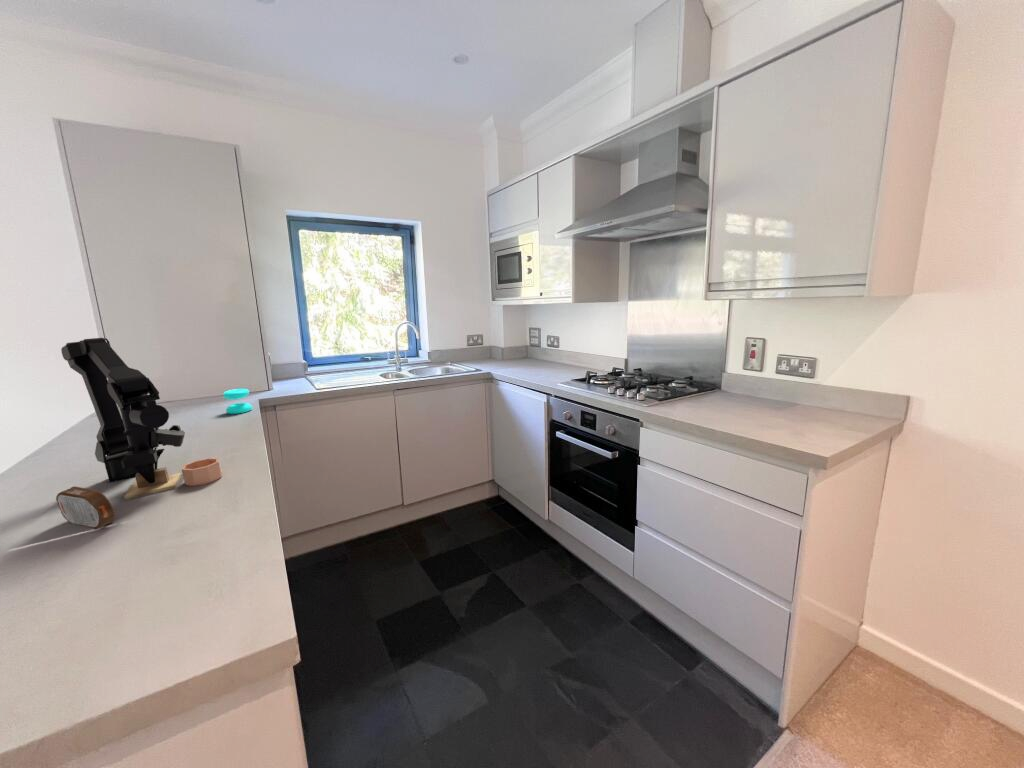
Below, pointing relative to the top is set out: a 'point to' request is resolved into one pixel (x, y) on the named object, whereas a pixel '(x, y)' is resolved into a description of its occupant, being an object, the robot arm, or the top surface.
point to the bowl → (202, 471)
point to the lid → (160, 484)
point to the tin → (85, 507)
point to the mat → (156, 492)
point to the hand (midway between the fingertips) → (153, 481)
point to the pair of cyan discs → (237, 407)
